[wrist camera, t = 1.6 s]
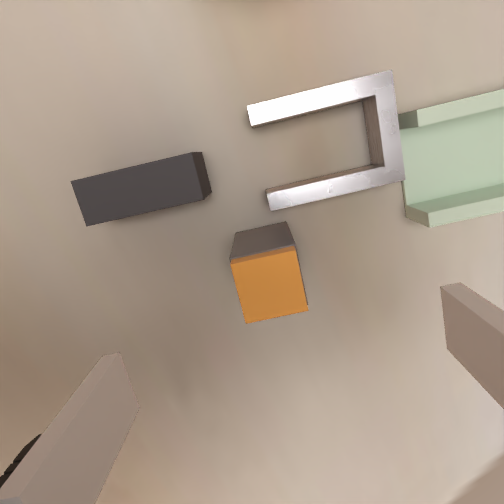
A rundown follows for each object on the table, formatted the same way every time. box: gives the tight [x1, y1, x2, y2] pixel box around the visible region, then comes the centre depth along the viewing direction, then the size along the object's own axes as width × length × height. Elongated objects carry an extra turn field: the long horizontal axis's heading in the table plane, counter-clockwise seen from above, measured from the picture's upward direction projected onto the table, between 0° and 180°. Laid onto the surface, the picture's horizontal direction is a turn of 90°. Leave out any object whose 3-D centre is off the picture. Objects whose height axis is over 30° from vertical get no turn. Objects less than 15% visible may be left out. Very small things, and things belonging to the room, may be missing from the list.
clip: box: [247, 70, 406, 211], centre depth 26 cm, size 9×7×3 cm
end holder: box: [398, 89, 504, 228], centre depth 25 cm, size 9×8×4 cm
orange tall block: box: [229, 221, 308, 324], centre depth 25 cm, size 4×4×8 cm
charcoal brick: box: [71, 152, 212, 226], centre depth 26 cm, size 8×3×4 cm, turn 103°
